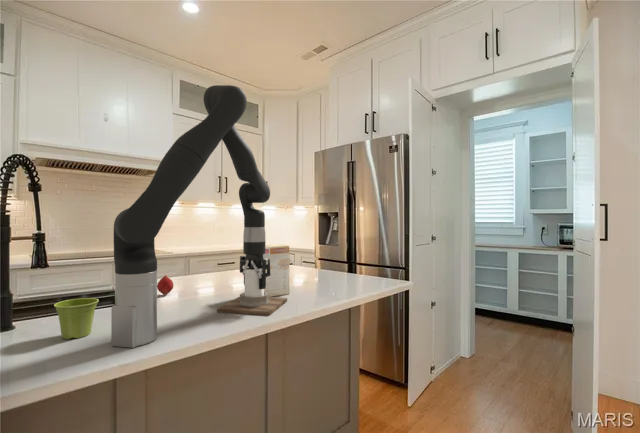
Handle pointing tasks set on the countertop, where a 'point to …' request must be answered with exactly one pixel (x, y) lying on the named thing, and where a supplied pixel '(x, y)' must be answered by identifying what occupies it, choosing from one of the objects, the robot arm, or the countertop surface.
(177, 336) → the countertop surface
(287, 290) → the coffeecake box
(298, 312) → the countertop surface
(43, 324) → the countertop surface
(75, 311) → the plant pot
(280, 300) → the board
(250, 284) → the can
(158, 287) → the onion
